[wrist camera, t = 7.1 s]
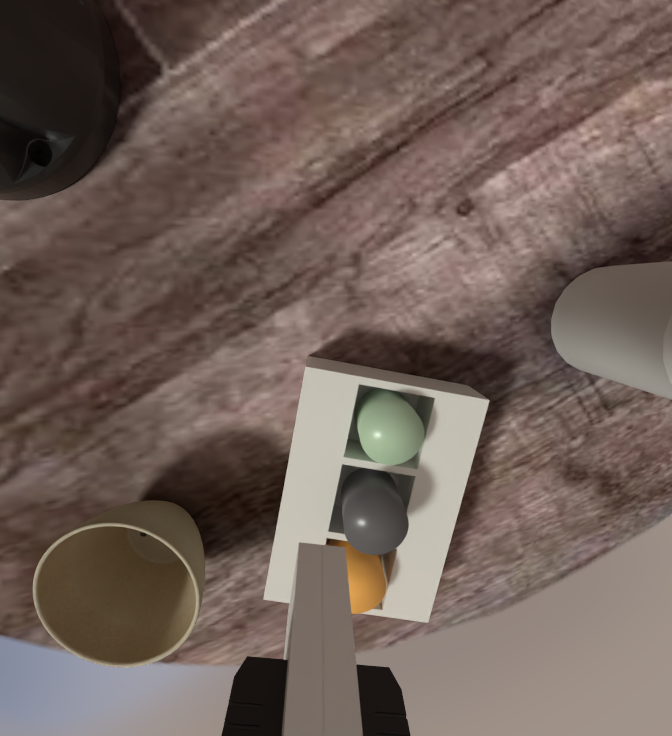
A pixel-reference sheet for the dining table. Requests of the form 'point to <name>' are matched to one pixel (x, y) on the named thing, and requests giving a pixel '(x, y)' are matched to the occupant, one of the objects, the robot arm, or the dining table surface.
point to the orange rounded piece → (363, 577)
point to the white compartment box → (413, 478)
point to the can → (619, 325)
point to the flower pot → (123, 584)
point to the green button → (388, 426)
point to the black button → (373, 512)
